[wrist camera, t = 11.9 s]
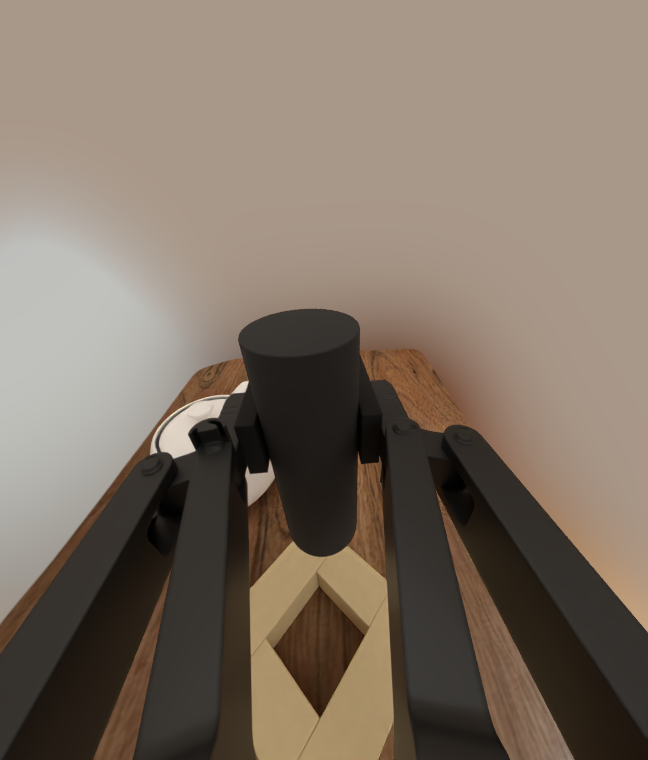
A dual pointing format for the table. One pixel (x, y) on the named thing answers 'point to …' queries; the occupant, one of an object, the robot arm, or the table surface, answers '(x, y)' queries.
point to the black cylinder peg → (309, 419)
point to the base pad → (360, 681)
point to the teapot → (178, 442)
